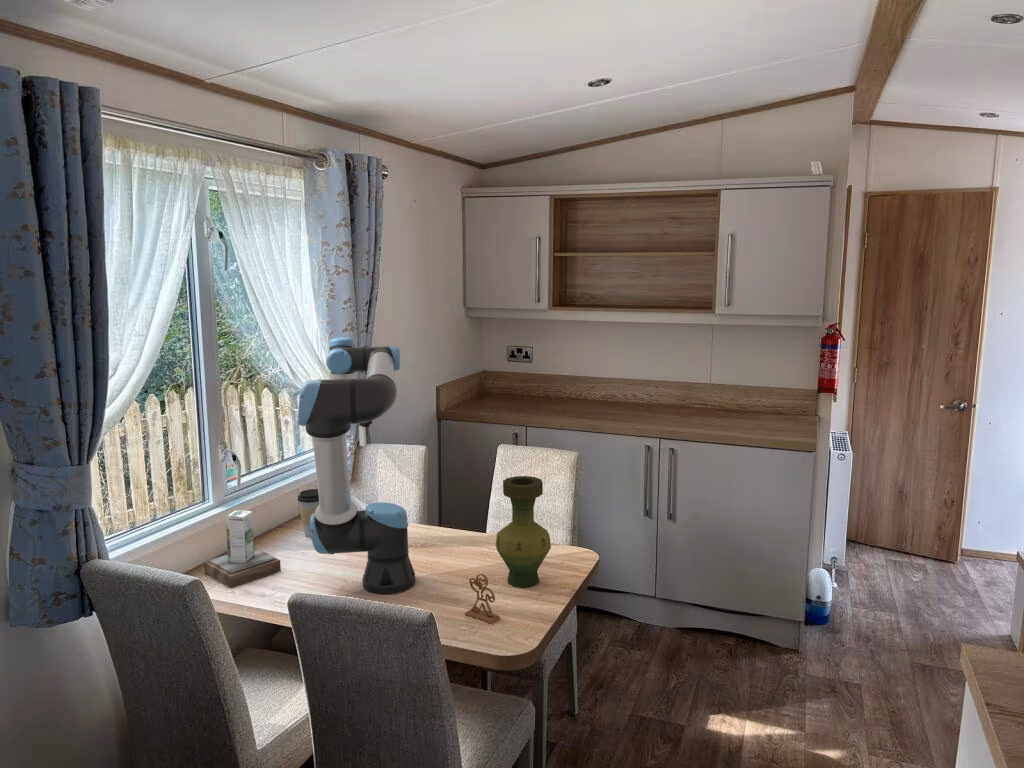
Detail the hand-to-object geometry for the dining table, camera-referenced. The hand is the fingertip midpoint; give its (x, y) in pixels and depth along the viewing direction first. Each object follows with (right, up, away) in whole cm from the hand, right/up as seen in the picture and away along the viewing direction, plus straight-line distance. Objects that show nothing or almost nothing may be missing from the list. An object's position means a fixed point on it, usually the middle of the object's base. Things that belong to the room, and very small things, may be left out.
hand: (346, 450), depth 247 cm
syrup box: (-27, -31, -19) cm, 46 cm away
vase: (+57, -36, -26) cm, 73 cm away
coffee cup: (-14, -30, +13) cm, 36 cm away
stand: (-27, -35, -18) cm, 48 cm away
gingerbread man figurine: (+46, -40, -48) cm, 78 cm away
